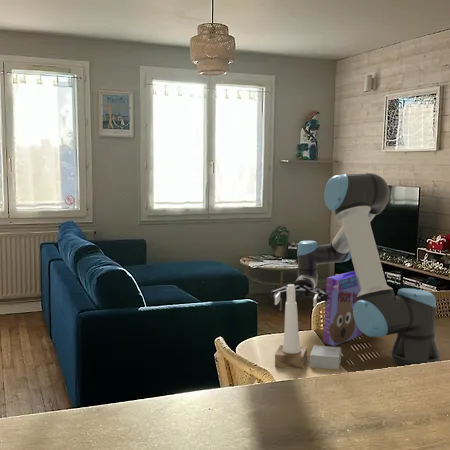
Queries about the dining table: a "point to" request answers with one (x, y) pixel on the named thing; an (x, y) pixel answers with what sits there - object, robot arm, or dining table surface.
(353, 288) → the cereal box
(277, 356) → the walnut stand
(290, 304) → the cosmetic bottle
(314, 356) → the grey stand
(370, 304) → the robot arm
